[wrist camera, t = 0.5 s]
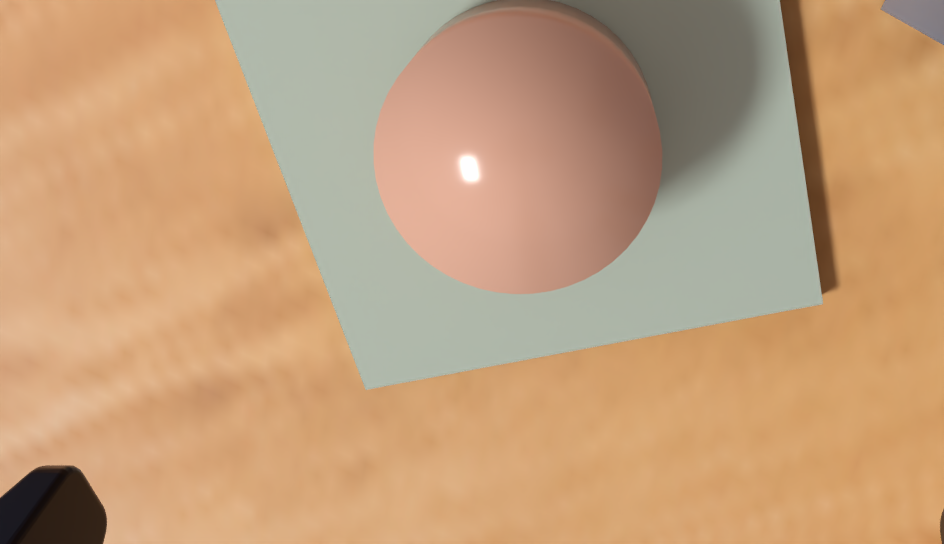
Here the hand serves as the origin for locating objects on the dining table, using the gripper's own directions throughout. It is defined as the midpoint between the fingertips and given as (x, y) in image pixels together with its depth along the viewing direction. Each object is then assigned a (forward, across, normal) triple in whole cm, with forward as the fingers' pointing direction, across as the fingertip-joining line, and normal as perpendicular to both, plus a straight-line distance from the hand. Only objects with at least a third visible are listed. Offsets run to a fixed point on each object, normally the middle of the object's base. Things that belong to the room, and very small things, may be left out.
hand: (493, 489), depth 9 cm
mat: (+13, 0, +3) cm, 13 cm away
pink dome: (+12, 0, +3) cm, 13 cm away
